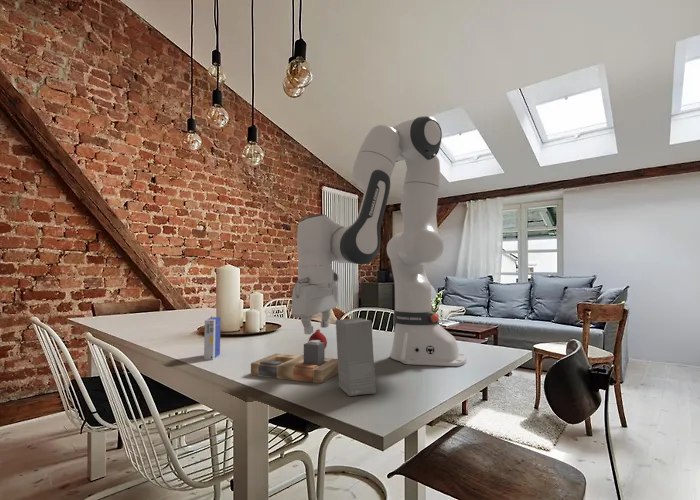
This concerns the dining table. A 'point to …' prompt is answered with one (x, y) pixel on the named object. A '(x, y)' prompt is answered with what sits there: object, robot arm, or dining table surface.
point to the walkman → (212, 338)
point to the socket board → (294, 368)
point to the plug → (314, 352)
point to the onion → (318, 337)
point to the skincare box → (355, 356)
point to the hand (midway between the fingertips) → (317, 330)
